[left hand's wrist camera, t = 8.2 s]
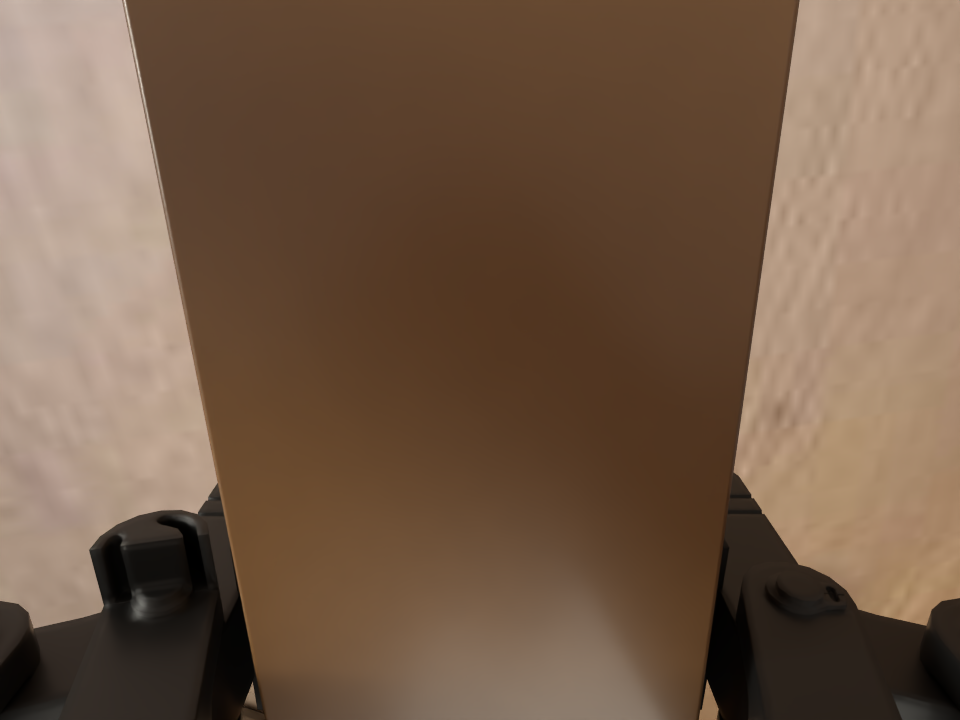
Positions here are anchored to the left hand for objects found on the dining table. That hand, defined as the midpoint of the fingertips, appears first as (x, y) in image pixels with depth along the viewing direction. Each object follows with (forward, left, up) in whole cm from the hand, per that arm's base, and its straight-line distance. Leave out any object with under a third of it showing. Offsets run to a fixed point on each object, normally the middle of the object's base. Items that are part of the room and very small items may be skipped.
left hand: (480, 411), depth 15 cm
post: (+27, +12, -1) cm, 30 cm away
